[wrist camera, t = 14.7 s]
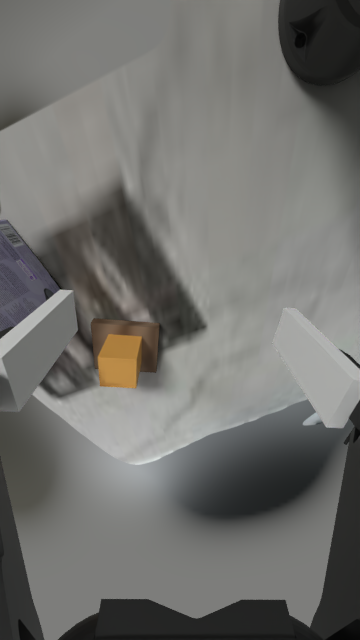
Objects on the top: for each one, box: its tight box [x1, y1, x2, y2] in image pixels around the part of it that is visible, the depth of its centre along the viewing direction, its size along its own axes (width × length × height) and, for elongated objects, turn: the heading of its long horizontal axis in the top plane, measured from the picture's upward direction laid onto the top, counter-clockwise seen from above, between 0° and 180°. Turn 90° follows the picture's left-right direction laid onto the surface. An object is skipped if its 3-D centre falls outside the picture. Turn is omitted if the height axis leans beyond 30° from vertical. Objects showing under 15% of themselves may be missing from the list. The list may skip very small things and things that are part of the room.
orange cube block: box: [98, 334, 142, 388], centre depth 48 cm, size 7×7×8 cm
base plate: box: [91, 318, 160, 373], centre depth 53 cm, size 14×12×2 cm
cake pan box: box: [0, 220, 61, 331], centre depth 37 cm, size 19×5×18 cm, turn 26°
